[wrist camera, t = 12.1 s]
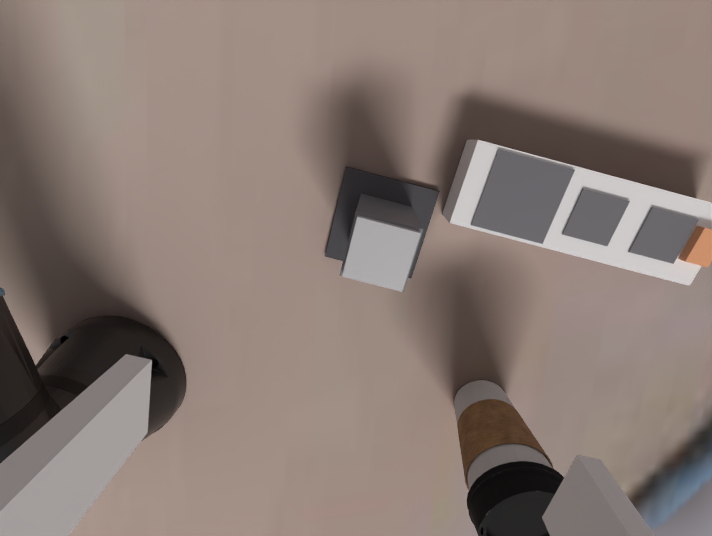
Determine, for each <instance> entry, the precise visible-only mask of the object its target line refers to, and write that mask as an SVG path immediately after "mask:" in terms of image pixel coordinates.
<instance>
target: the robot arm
mask: <svg viewBox="0 0 712 536" xmlns="http://www.w3.org/2000/svg"><path fill="white" fill-rule="evenodd" d="M3 295H5V292H4V289H2V288H0V536H69V534H70V533H71V532H72V530H73V529H74V528H75V527H76V525H77V524H78V523H79V521H80V520H81V519H82V517H83V516H84V515H85V513H86V512H87V511H88V510H89V508H90V507H91V506H92V504H93V503H94V502H95V500H96V499H97V498H98V497H99V495H100V494H101V493H102V491H103V490H104V489H105V487H106V486H107V485H108V484H109V482H110V481H111V480H112V478H113V477H114V476H115V474H116V473H117V472H118V470H119V469H120V468H121V467H122V465H123V464H124V463H125V461H126V460H127V459H128V457H129V456H130V455H131V454H132V452H133V451H134V450H135V448H136V447H137V446H138V444H139V443H140V442H141V441H142V440H144V439H145V438H147V437H148V436H149V435H151V434H152V433H154V432H156V431H158V430H159V429H160V428H162V427H163V426H164V425H165V424H166V423H167V422H168V421H169V420H170V419H171V417H172V416H173V415H174V413H175V412H176V411H177V409H178V408H179V407H180V405H181V403H182V401H183V399H184V396H185V391H186V377H185V372H184V369H183V366H182V363H181V361H180V359H179V357H178V356H177V354H176V352H175V351H174V350H173V348H172V347H171V346H170V345H169V344H168V343H167V342H166V341H165V340H164V339H163V338H162V337H161V336H160V335H159V334H157V333H156V332H154V331H153V330H151V329H150V328H148V327H146V326H144V325H142V324H140V323H138V322H136V321H133V320H130V319H126V318H122V317H115V316H100V317H94V318H90V319H87V320H84V321H82V322H80V323H79V324H77V325H75V326H74V327H72V328H71V329H69V330H67V331H66V332H64V333H63V334H61V335H60V336H59V337H58V338H57V339H56V340H55V341H54V342H53V343H52V344H51V346H50V347H49V349H48V350H47V351H46V352H45V354H44V355H43V356H42V358H41V359H40V360H39V362H38V363H37V364H36V366H35V364H34V361H33V359H32V357H31V355H30V353H29V351H28V349H27V347H26V344H25V342H24V340H23V338H22V336H21V334H20V332H19V330H18V327H17V325H16V323H15V321H14V319H13V317H12V315H11V313H10V310H9V308H8V306H7V304H6V302H5V300H4V298H3ZM542 519H543V521H544V523H545V525H546V528H547V530H548V532H549V534H550V536H655V535H654V534H653V532H652V531H651V529H650V528H649V527H648V525H647V524H646V522H645V521H644V520H643V518H642V517H641V515H640V514H639V513H638V511H637V510H636V508H635V507H634V506H633V504H632V503H631V501H630V500H629V499H628V497H627V496H626V494H625V493H624V492H623V490H622V489H621V487H620V486H619V485H618V483H617V482H616V480H615V479H614V478H613V476H612V475H611V473H610V472H609V471H608V469H607V468H606V466H605V465H604V464H603V462H602V461H601V460H599V459H595V458H590V457H586V456H581V455H577V456H576V458H575V459H574V461H573V463H572V465H571V466H570V468H569V470H568V472H567V474H566V475H565V477H564V479H563V481H562V483H561V484H560V486H559V488H558V490H557V491H556V493H555V495H554V497H553V499H552V500H551V502H550V504H549V506H548V508H547V509H546V511H545V513H544V515H543V516H542Z"/></svg>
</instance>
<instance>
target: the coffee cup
mask: <svg viewBox="0 0 712 536" xmlns="http://www.w3.org/2000/svg"><path fill="white" fill-rule="evenodd" d="M454 408H455V414H456V420H457V426H458V434H459V441H460V448H461V455H462V462H463V468H464V475H465V482H466V486H467V488H468V490H469V492H468V496H467V507H468V510H469V516H470V518H471V521H472V522H473V524H474V525H475V528H476V530H477V533H478V536H550V534H549V532H548V530H547V528H546V525H545V523H544V521H543V519H542V516H543V515H544V513H545V511H546V509H547V508H548V506H549V504H550V502H551V500H552V499H553V497H554V495H555V493H556V491H557V490H558V488H559V486H560V484H561V483H562V481H563V479H564V477H563V476H562V475H561V474H560V473H559V472H557V471H556V470H554V469H553V465H552V463H551V461H550V459H549V458H548V456H547V455H546V453H545V452H544V450H543V449H542V447H541V446H540V444H539V443H538V441H537V440H536V438H535V437H534V435H533V434H532V432H531V431H530V429H529V428H528V427H527V425H526V424H525V422H524V421H523V419H522V418H521V416H520V415H519V413H518V412H517V410H516V409H515V408H514V406H513V405H512V403H511V402H510V400H509V398H508V397H507V395H506V394H505V392H504V391H503V389H502V388H501V387H500V386H498V385H497V384H495V383H493V382H490V381H486V380H478V381H473V382H470V383H468V384H466V385H464V386H463V387H462V388H461V389H460V390H459V391H458V392H457V394H456V396H455V398H454Z"/></svg>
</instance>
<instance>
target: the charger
mask: <svg viewBox="0 0 712 536" xmlns="http://www.w3.org/2000/svg"><path fill="white" fill-rule="evenodd" d="M422 232H423V228H422V226H421V224H420V222H419V220H418V218H417V216H416V214H415V212H414V210H413V208H412V207H411V206H407V205H403V204H399V203H396V202H392V201H388V200H384V199H380V198H377V197H373V196H369V195H365V194H361V196H360V199H359V202H358V206H357V209H356V212H355V216H354V220H353V224H352V228H351V232H350V236H349V240H348V244H347V248H346V252H345V256H344V260H343V264H342V268H341V272H340V276H342V277H346V278H350V279H354V280H358V281H362V282H365V283H369V284H373V285H377V286H381V287H385V288H389V289H393V290H397V291H401V292H404V288H405V285H406V282H407V279H408V276H409V273H410V270H411V267H412V264H413V260H414V257H415V254H416V251H417V248H418V245H419V242H420V239H421V236H422Z"/></svg>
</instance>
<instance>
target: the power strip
mask: <svg viewBox="0 0 712 536" xmlns="http://www.w3.org/2000/svg"><path fill="white" fill-rule="evenodd" d="M442 215H443V216H444V217H445V218H446V219H447V220H448V222H449V223H452V224H456V225H460V226H463V227H467V228H471V229H475V230H479V231H482V232H486V233H490V234H494V235H498V236H502V237H505V238H509V239H513V240H517V241H521V242H524V243H528V244H532V245H536V246H540V247H543V248H547V249H551V250H555V251H559V252H562V253H566V254H570V255H574V256H578V257H582V258H585V259H589V260H593V261H597V262H601V263H604V264H608V265H612V266H616V267H620V268H623V269H627V270H631V271H635V272H639V273H643V274H646V275H650V276H654V277H658V278H662V279H665V280H669V281H673V282H677V283H681V284H684V285H688V286H690V284H691V283H692V281H693V279H694V278H695V276H696V274H697V273H698V271H699V269H700V268H701V266H704V267H708V266H709V264H710V263H711V261H712V203H711V202H707V201H703V200H700V199H696V198H692V197H688V196H685V195H681V194H677V193H674V192H670V191H666V190H663V189H659V188H655V187H651V186H648V185H644V184H640V183H637V182H633V181H629V180H625V179H622V178H618V177H614V176H611V175H607V174H603V173H600V172H596V171H592V170H588V169H585V168H581V167H577V166H574V165H570V164H566V163H562V162H559V161H555V160H551V159H548V158H544V157H540V156H537V155H533V154H529V153H525V152H522V151H518V150H514V149H511V148H507V147H503V146H500V145H496V144H492V143H488V142H485V141H481V140H467V141H466V144H465V147H464V150H463V153H462V156H461V159H460V162H459V165H458V168H457V171H456V174H455V177H454V180H453V183H452V186H451V189H450V192H449V195H448V198H447V201H446V204H445V207H444V210H443V213H442Z"/></svg>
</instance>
